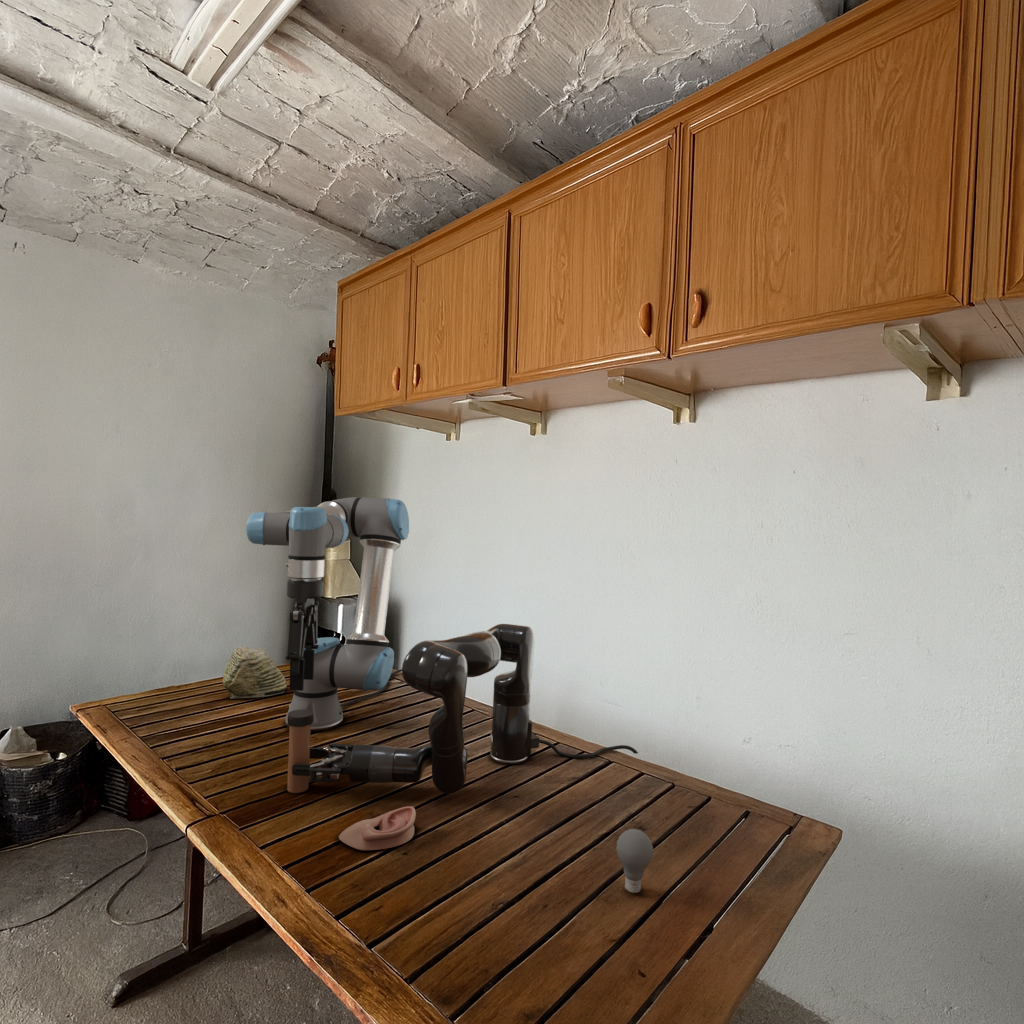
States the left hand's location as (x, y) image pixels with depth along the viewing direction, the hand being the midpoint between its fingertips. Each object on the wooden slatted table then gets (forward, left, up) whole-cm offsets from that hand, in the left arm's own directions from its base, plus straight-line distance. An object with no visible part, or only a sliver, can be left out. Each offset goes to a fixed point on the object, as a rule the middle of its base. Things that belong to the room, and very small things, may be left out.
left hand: (301, 684), depth 137 cm
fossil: (-26, -65, -23) cm, 73 cm away
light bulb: (-17, +72, -23) cm, 77 cm away
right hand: (0, 0, -17) cm, 17 cm away
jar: (0, 0, -23) cm, 23 cm away
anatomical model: (+1, +28, -23) cm, 36 cm away
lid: (0, 0, -7) cm, 7 cm away
